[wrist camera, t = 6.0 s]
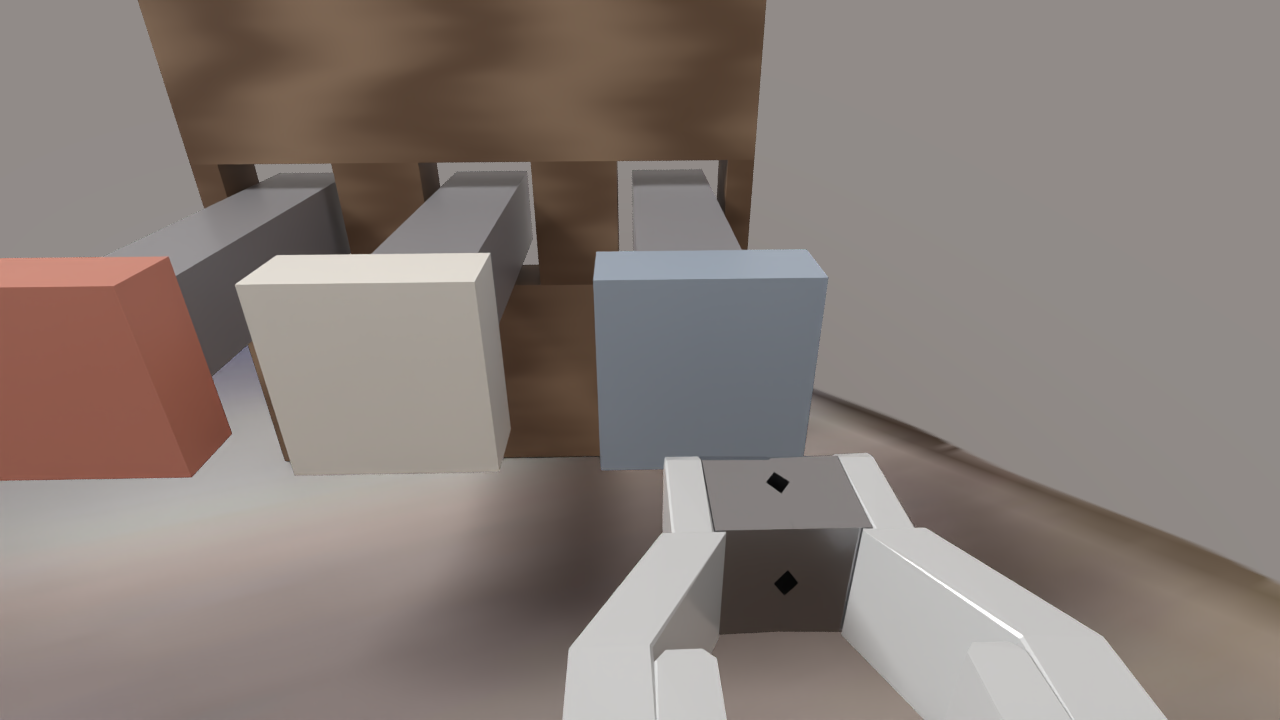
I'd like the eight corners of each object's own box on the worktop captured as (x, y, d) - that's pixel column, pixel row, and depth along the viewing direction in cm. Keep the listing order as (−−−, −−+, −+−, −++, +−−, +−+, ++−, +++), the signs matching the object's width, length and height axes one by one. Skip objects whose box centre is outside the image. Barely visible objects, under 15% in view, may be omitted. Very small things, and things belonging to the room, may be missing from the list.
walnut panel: (285, 461, 25) (128, -29, 17) (307, 431, 27) (174, -25, 19) (731, 453, 25) (768, -31, 18) (724, 424, 27) (755, -28, 19)
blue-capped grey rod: (601, 470, 13) (592, 280, 11) (611, 259, 24) (608, 146, 22) (801, 467, 13) (827, 277, 11) (720, 257, 24) (726, 145, 22)
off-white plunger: (294, 475, 13) (234, 284, 11) (446, 261, 24) (429, 147, 22) (499, 472, 13) (474, 281, 11) (556, 259, 24) (548, 146, 22)
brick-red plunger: (-17, 480, 13) (-131, 289, 11) (280, 263, 24) (249, 148, 22) (191, 477, 13) (113, 285, 11) (391, 261, 24) (369, 148, 22)
